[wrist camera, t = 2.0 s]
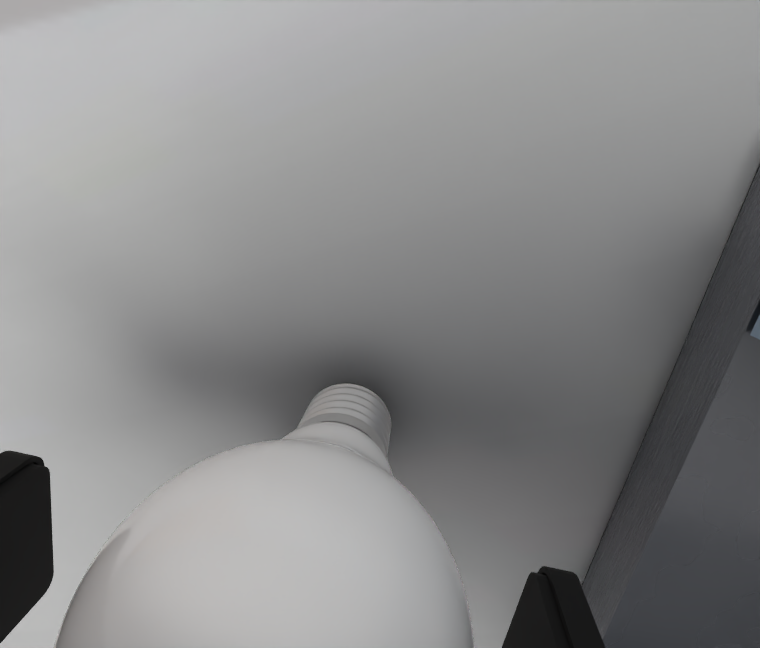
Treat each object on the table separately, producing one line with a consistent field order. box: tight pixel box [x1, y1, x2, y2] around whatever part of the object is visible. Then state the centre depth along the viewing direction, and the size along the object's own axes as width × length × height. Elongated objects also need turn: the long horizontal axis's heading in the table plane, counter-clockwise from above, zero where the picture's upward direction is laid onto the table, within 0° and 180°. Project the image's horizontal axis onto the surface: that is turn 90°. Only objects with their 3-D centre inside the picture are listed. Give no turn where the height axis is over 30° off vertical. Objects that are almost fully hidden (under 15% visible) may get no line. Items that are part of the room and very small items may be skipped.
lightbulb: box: [53, 383, 474, 648], centre depth 10 cm, size 6×6×11 cm
